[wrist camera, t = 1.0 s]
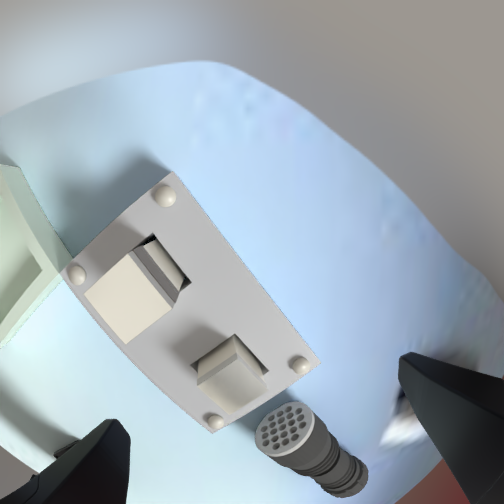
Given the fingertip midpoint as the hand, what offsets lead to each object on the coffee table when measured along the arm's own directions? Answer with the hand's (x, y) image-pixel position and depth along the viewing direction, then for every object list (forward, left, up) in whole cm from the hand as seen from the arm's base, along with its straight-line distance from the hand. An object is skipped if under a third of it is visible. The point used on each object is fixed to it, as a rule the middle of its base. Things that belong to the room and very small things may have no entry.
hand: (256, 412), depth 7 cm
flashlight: (-4, -19, -14) cm, 23 cm away
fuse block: (-3, 0, -13) cm, 14 cm away
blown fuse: (-3, +4, -13) cm, 14 cm away
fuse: (-3, -4, -13) cm, 14 cm away
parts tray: (-14, +13, -13) cm, 23 cm away
